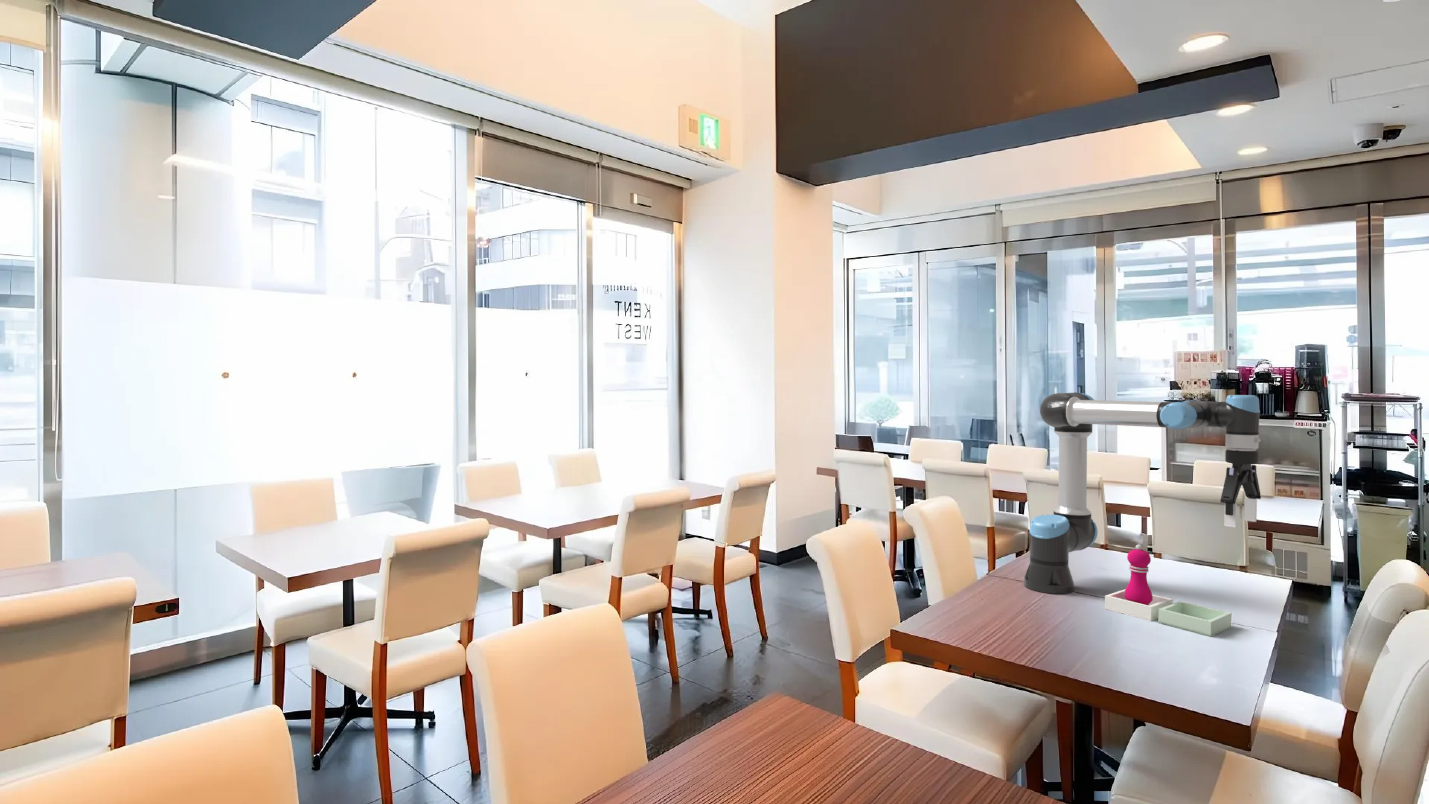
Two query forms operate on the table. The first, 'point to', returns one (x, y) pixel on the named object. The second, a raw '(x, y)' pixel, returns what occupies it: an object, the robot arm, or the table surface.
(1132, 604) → the bin
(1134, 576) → the pepper mill
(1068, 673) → the table surface
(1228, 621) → the tray
